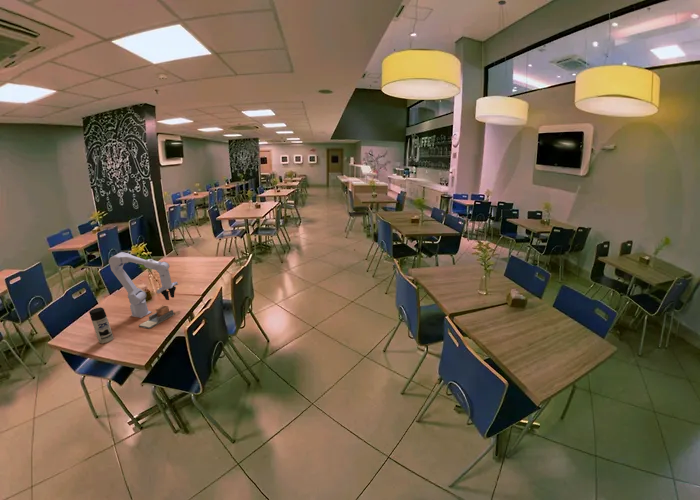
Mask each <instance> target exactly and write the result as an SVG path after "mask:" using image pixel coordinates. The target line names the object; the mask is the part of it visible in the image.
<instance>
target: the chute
mask: <svg viewBox="0 0 700 500" xmlns="http://www.w3.org/2000/svg"><path fill="white" fill-rule="evenodd" d="M173 316H175V312H174V310H173V309H171V310H169V312H167V313H165V314H164V315H162V316H160V317H159V316H157V312H155V313H153V314H151V315H150V316H148V320H146V321H144V322H142V323H140V324H139V325H138V327H139V328H144V329H149V330H150V329H152V328H153V327H156V326H158V325H159V324H161V323H163V322H164V321H165V320H168V319H169V318H170V317H173Z"/></svg>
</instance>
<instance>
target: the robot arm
mask: <svg viewBox="0 0 700 500" xmlns="http://www.w3.org/2000/svg"><path fill="white" fill-rule="evenodd" d="M127 263H134V264H138V265H142V266H144V268H146V269H150V270H153V271H156V272H157V273H158V275H159V278H160V283H161V287H160V288H158V289H157V290H156V293H157V294H161V295H162V296H163V297H164V299H165V300H166V301H169V300H170V297H171V298H175V293H176V289H177V287H176V286H178V285H179V283H178V281H174V282H172V279H171V274H170V264H169V263H168V262H167V261H158V260H154V258H148V259H144V258H142V257H139V256H135V255H132V254H130V253H128V252H123V251H120V252H118V253H117V254H115V255H112V256H111V257H110V258H109V260H108V264H109V267H110V270H111V272H112V273H113V275H114V276H115V277H116V279H117V280H118V281H119V283H120V284H121V286H122V287H123V288H124V290H126V292H127V298H128V302H129V304H130V305H129V306H130V307H129V308H130V311H131V312H130V313H131V315H130V317H135V318H140V319H141V318H143V317H145V316H148V315H149V314H151V313H152V311H150V310H149V308H148V304H147V301H146V300H147V299H146V298H147V292H146V291H144V290H143V289H141V288H139V287H137V285H135V283H134V282H133V280H132V279H131V278H130V276H129V275H128V273H127V272H126V271H125V270H124V265H125V264H127Z"/></svg>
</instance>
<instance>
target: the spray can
mask: <svg viewBox="0 0 700 500" xmlns="http://www.w3.org/2000/svg"><path fill="white" fill-rule="evenodd" d="M88 313H89V316H90V319H91V323H92V325H93V329H94V330H95V335H96V337H97V341H98V343H99V344H107V343H109V342H112V341H113V340H114V335H113V331H112V328H111V325H110V323H109V318H108V316H107V313H106V311H105V308H103V307H101V306H100V307H96V308H93V309H90V310H89V312H88Z"/></svg>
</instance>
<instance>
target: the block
mask: <svg viewBox="0 0 700 500" xmlns="http://www.w3.org/2000/svg"><path fill="white" fill-rule="evenodd" d="M155 311H156V312H157V316H159V317H160V316H162V315H164V314H165V313H167V312H169V311H170V308H169V306H168V305H160V306H158V307H156V308H155ZM156 312H155V313H156Z"/></svg>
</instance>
